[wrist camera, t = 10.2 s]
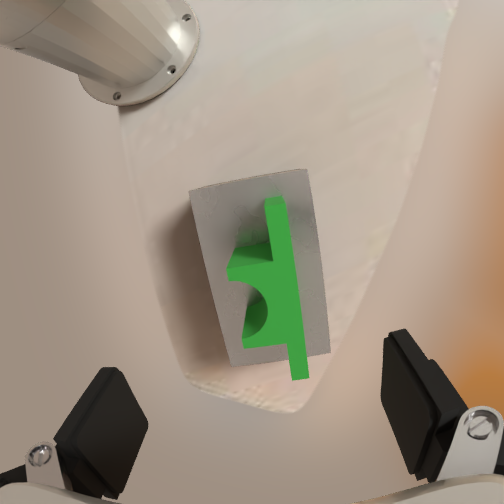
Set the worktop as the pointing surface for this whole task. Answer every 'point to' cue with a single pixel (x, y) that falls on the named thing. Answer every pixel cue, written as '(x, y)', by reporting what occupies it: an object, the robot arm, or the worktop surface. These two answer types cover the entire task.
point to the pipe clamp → (273, 290)
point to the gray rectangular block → (252, 233)
